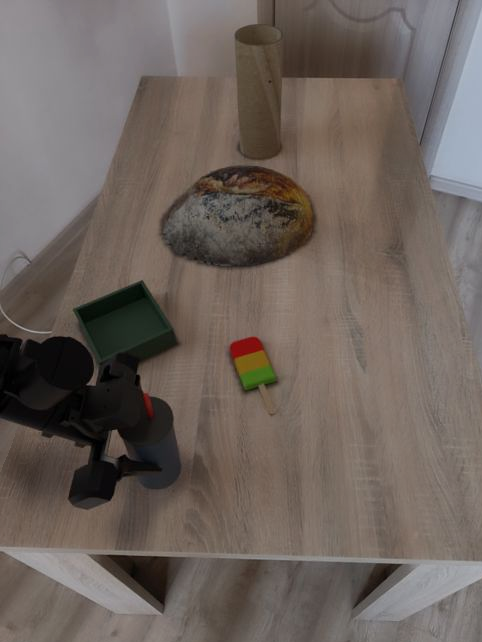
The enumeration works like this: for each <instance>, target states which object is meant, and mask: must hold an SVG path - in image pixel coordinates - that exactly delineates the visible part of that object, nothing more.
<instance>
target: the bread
mask: <svg viewBox="0 0 482 642" xmlns="http://www.w3.org/2000/svg"><path fill="white" fill-rule="evenodd" d="M314 217H315V216H314V214H313V210H312V204H311V201H310V199H309V197H308V195H307V194H306V191H304V189H303V188H302V186H301V185H300V184H299V183H298V182H297V181H295V180H294V179H293V178H291V177H289V176H288V175H286V174H284V173H282V172H279V171H277V170H275V169H273V168H272V169H271V168H268V167H264V166H260V165H247V164H245V165H243V164H242V165H241V164H240V165H231V166H225V167H221V168H218V169H215V170H212V171H209V172H208V173H206V174H204V175H203V176H200V177H199V179H198V180H196V181H195V182H193V184H192V185H190V187H188V188H187V189H186V190H185V191H184V192H183V193H182V194H181V195H180V197H178V198H177V199H176V201H175V202H174V203H173V204H171V206H170V208H169V209H168V210H167V212H166V215H165V217H164V220H163V225H164V226H163V232H162V234H163V235H164V239H166V240H165V243H167V244H168V245H169V244H170V245H171V248H172V250H173V251H174V252H175V253H176V254H177V255H179V256H183V255H184V254H185V255H186V256H187V258H188V260H189V259H190V260H192V261H195V260H196V259H198V261H199V263H201V264H204V263H205V262H206V264H207V265H212V264H213V265H214V266H220V267H246V266H247V267H252V266H258V265H261V264H264V263H269V262H271V261H276V260H277V259H281V257H285V256H288V255H289V254H291V253H292V252H294V251H295V250H296V249H298V248H299V247H301V246H303V245H304V244H305V243H306V242H307V240H309V239H310V238H311V237H312V234H311V232H313V226H314V225H313V224H314V221H315V218H314Z"/></svg>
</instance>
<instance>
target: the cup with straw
mask: <svg viewBox="0 0 482 642" xmlns="http://www.w3.org/2000/svg"><path fill="white" fill-rule="evenodd" d="M174 417H175V416H174V412H173V408H171V406H170V405H169V403H168V402H166V401H165V400H164V399H162V398H160V397H157V396H153V395H152V396H151V395H149V393H147V392H144V396H143V399H142V400H141V406H140V418H139V421H138V423H137V424H136V425H135V426H133V427H131V428H121V429H117V430H116V431H117V434H118V435H119V437H120V438H121V440H122V442H123V445H124V447H125V450H126V452H127V456H128V458H129V459H131V460H135V461H139V462H143V463H147V464H152V465H155V466H158V467H160V468H162V472H160V473H157V474H148V475H140V476H136V479H137V481H138V482H139V483H140V485H141V486H143V487H144V488H145V489H148V490H153V491H160V490H164V489H168V488H169V487H170V486H172V485H173V484H175V482H176V481H177V480H178V479H179V477H180V476H181V473H182V460H181V456H180V450H179V445H178V441H177V437H176V430H175V426H174V420H175V418H174Z"/></svg>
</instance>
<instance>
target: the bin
mask: <svg viewBox="0 0 482 642" xmlns="http://www.w3.org/2000/svg"><path fill="white" fill-rule="evenodd" d="M72 311H73V313H74V316H75V317H76V319H77V322H78V323H79V325H80V327H81V329H82V333H83V334H84V335H85V338H86V339H87V342H88V343H89V346H90V349H91V350H92V352H93V354H94V356H95V358H96V360H97V362H98V364H99V367H100V366H101V365H102V364H103V363H105V362H106V361H107V360H109V359H110V358H112V357H113V356H114V355H116V354H117V353H120V352H128V353H130V354H132V355H134V356H136V357H138V358H139V363H141V362H143V361H145V360H147V359H150V358H151V357H153V356H155V355H158V354H160V353H162V352H164V351H166V350H169V349H170V348H172V347H174V346H176V345H178V341H177V336H176V333H175V330H174V328H173V326H172V324H171V323H170V321H169V319H168V318H167V316H166V315H165V313H164V312H163V310H162V308H161V307H160V305H159V303H158V302H157V300H156V299H155V296H154V295H153V294H152V292H151V291H150V289H149V288H148V286H147V284H146V283H145V281H144V279H141V280H139V281H136V282H134V283H131V284H129V285H127V286H124V287H122V288H120V289H117V290H114V291H113V292H110V293H108V294H105V295H103V296H101V297H98V298H95V299H93V300H91V301H89V302H86V303H84V304H81V305H79V306H77V307H74V308H72Z"/></svg>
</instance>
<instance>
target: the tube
mask: <svg viewBox="0 0 482 642" xmlns="http://www.w3.org/2000/svg"><path fill="white" fill-rule="evenodd" d="M234 53H235V71H236V72H235V73H236V74H235V75H236V76H235V77H236V94H237V96H236V97H237V116H238V117H237V118H238V137H239V140H238V141H239V150H240V153H242V154H243V156H245V157H248V158H250V159H256V160H265V159H269V158H271V157H274V156H275V155H277V154H278V153H279V151H280V149H281V129H282V127H281V124H282V93H283V92H282V91H283V89H282V88H283V56H284V33H283V31H282V30H281V29H280V28H279V27H276V26H274V25H270V24H265V23H264V24H263V23H255V24H248V25H244V26H242V27H239V28H238V29H237V30H236V31H235V32H234Z"/></svg>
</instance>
